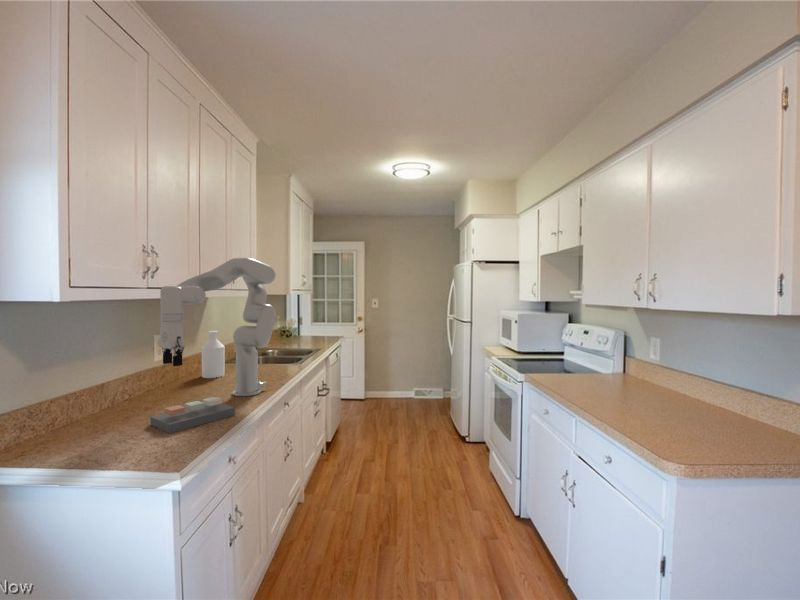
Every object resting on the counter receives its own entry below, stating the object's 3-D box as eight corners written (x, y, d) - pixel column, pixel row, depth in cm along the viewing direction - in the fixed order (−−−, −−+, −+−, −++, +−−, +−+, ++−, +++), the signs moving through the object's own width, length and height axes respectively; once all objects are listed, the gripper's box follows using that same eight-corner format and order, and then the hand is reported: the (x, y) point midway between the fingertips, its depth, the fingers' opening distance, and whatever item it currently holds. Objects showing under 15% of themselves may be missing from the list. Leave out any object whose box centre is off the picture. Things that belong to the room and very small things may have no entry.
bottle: (197, 376, 222) (197, 331, 221) (218, 372, 231) (218, 329, 230) (207, 379, 214) (207, 332, 213) (228, 375, 223) (228, 331, 222)
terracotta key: (178, 409, 145) (178, 405, 145) (184, 412, 142) (184, 407, 142) (164, 413, 141) (164, 408, 141) (170, 415, 138) (170, 410, 138)
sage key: (197, 405, 151) (197, 400, 151) (204, 407, 148) (204, 402, 148) (184, 408, 147) (184, 403, 147) (191, 410, 144) (191, 405, 144)
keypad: (214, 408, 161) (214, 401, 161) (234, 415, 153) (234, 407, 153) (150, 425, 142) (150, 416, 142) (169, 433, 134) (169, 424, 134)
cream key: (214, 401, 156) (214, 396, 156) (221, 403, 154) (221, 398, 154) (203, 404, 153) (202, 399, 153) (209, 406, 150) (209, 401, 150)
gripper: (151, 317, 154) (151, 363, 154) (173, 320, 144) (173, 368, 144) (171, 316, 160) (171, 360, 160) (193, 318, 150) (194, 365, 150)
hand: (172, 364), depth 152 cm, fingers open, 7 cm apart
